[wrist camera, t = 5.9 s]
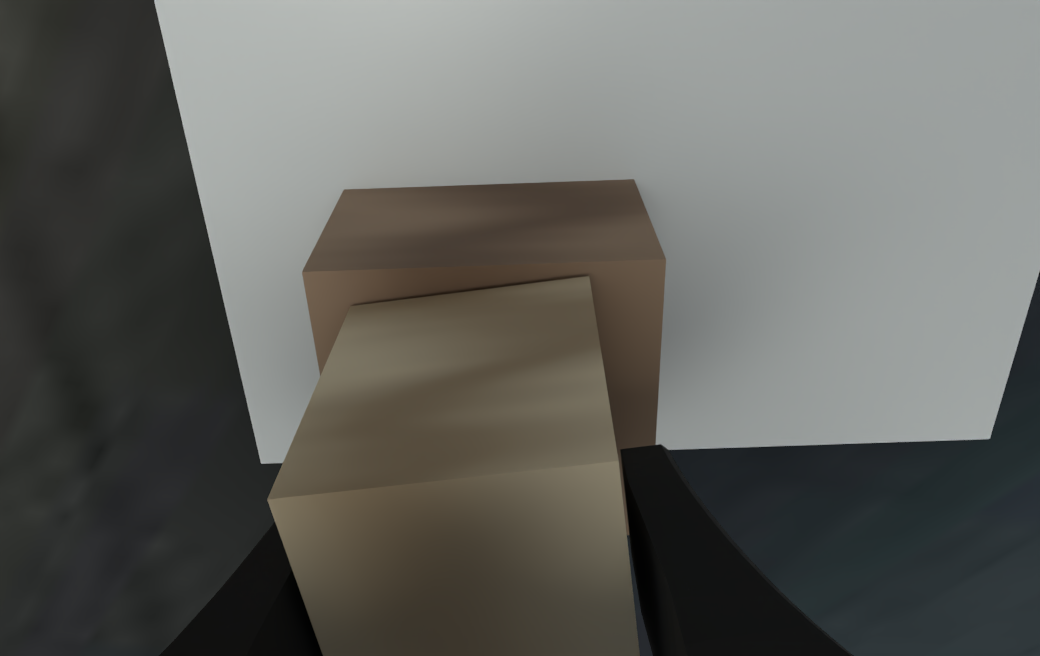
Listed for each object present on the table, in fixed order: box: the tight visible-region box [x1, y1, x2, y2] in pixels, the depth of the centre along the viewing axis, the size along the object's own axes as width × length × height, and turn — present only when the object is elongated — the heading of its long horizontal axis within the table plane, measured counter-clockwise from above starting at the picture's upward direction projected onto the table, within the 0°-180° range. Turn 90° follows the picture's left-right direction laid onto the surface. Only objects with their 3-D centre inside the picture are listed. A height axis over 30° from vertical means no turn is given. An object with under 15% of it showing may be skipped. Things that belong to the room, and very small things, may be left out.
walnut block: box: [302, 179, 666, 535], centre depth 17 cm, size 6×6×4 cm
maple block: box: [267, 276, 640, 656], centre depth 12 cm, size 4×4×5 cm
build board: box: [154, 0, 1040, 464], centre depth 17 cm, size 18×16×1 cm
